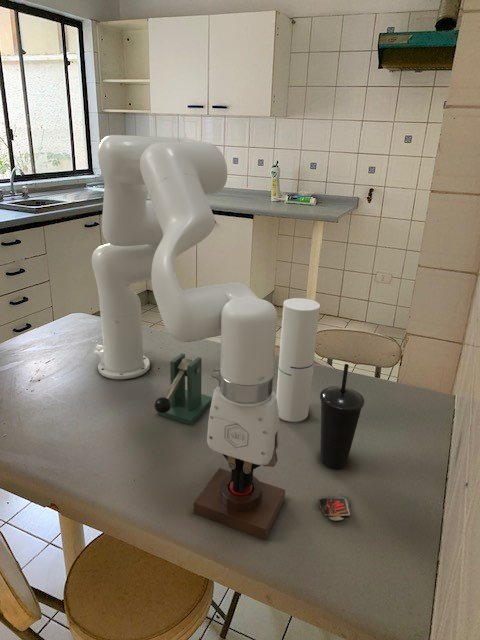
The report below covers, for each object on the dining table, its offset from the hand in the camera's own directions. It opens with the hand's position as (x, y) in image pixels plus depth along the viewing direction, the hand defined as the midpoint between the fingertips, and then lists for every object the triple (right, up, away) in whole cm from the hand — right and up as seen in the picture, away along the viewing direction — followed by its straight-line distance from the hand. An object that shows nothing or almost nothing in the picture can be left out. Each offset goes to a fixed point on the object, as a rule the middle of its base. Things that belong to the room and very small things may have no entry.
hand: (241, 486), depth 73 cm
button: (0, -2, +1) cm, 2 cm away
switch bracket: (-12, +7, +28) cm, 31 cm away
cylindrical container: (+11, +6, +28) cm, 30 cm away
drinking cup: (+17, 0, +13) cm, 22 cm away
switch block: (0, -4, +2) cm, 4 cm away
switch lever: (-13, +12, +22) cm, 28 cm away
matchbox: (+15, -5, +2) cm, 16 cm away
